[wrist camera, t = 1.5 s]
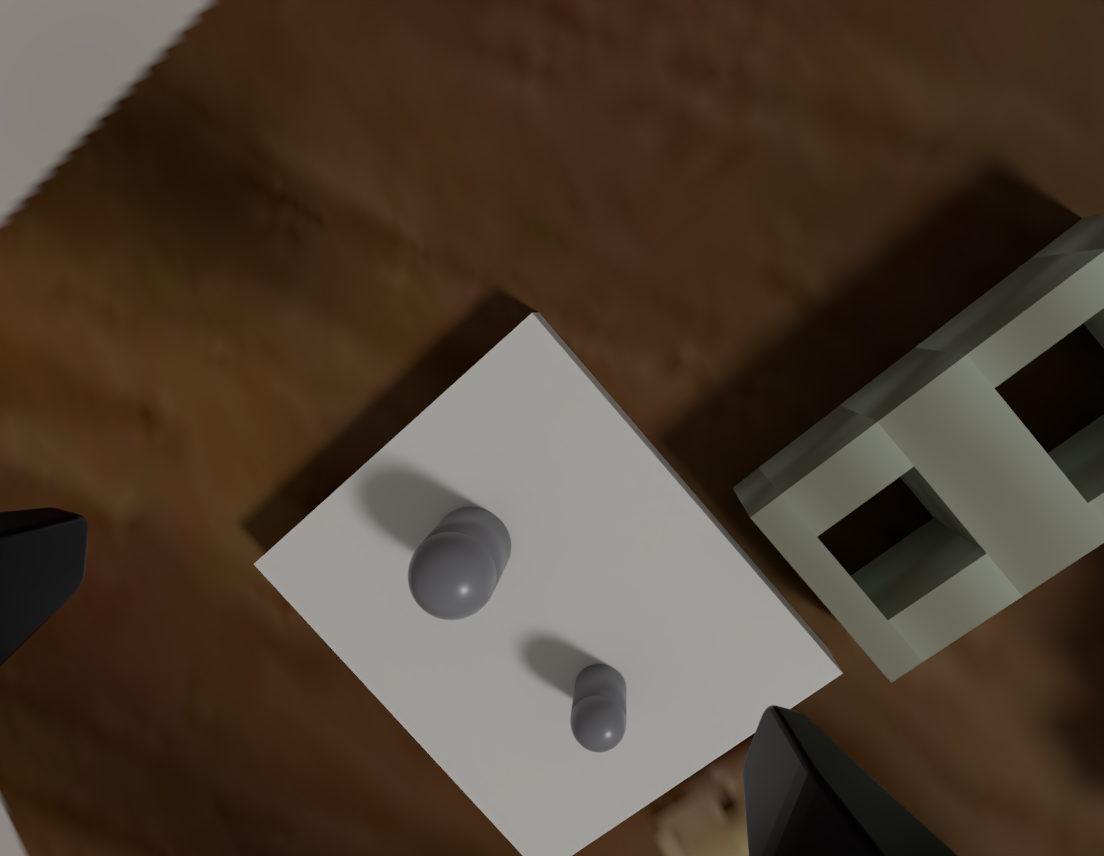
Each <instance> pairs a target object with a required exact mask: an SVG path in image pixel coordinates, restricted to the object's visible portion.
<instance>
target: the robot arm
mask: <svg viewBox="0 0 1104 856" xmlns="http://www.w3.org/2000/svg"><path fill="white" fill-rule="evenodd" d="M87 539H88V524H87V521H86V519H85V518H84V517H83V516H81V515H79V514H76V513H72V512H68V511H65V510H61V509H58V508H39V509H29V510H18V511H8V512H0V666H1V665H2V664H3V663H4V662H5V661H6V660H7V659H8V658H9V657H10V656H11V655H12V654H13V653H14V652H15V651H16V650H17V649H18V648H19V647H20V646H21V645H22V644H23V643H24V642H25V641H26V640H27V639H28V638H29V637H30V636H31V635H32V634H33V633H35V632H36V631H37V630H38V629H39V628H40V627H41V626H42V625H43V624H44V623H45V622H46V621H47V620H48V619H49V618H50V617H51V616H52V615H53V614H54V613H55V612H56V611H57V610H58V609H59V608H60V607H61V606H62V605H63V604H64V603H65V602H66V601H67V600H68V599H69V598H70V597H71V596H72V595H73V594H74V593H75V592H76V591H77V589H78V588H79V587H80V585H81V583H82V581H83V578H84V575H85V567H86V553H87ZM743 782H744V795H745V808H746V822H747V835H748V848H749V856H957V855H956V854H955V853H954V852H953V851H952V850H951V849H950V848H949V847H947V846H946V845H945V844H944V843H943V842H942V841H941V840H940V839H939V838H938V837H937V836H936V835H934V834H933V833H932V832H931V831H930V830H929V829H928V828H927V827H926V826H925V825H924V824H922V823H921V822H920V821H919V820H918V819H917V818H916V817H915V816H914V815H913V814H912V813H910V812H909V811H908V810H907V809H906V808H905V807H904V806H903V805H902V804H901V803H900V802H899V801H897V800H896V799H895V798H894V797H893V796H892V795H891V794H890V793H889V792H888V791H887V790H885V789H884V788H883V787H882V786H881V785H880V784H879V783H878V782H877V781H876V780H875V779H874V778H872V777H871V776H870V775H869V774H868V773H867V772H866V771H865V770H864V769H863V768H862V767H860V766H859V765H858V764H857V763H856V762H855V761H854V760H853V759H852V758H851V757H850V756H849V755H847V754H846V753H845V752H844V751H843V750H842V749H841V748H840V747H839V746H838V745H837V744H835V743H834V742H833V741H832V740H831V739H830V738H829V737H828V736H827V735H826V734H825V733H823V732H822V731H821V730H820V729H819V728H818V727H817V726H816V725H815V724H814V723H813V722H812V721H810V720H809V719H808V718H807V717H806V716H805V715H804V714H802V713H800V712H798V711H794V710H791V709H787V708H783V707H780V706H775V705H771V706H769V707H767V708H766V710H765V711H764V712H763V715H762V717H761V719H760V722H759V725H758V727H757V730H756V732H755V735H754V737H753V740H752V743H751V745H750V748H749V750H748V753H747V756H746V759H745V763H744V770H743Z"/></svg>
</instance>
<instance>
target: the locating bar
mask: <svg viewBox="0 0 1104 856" xmlns="http://www.w3.org/2000/svg"><path fill="white" fill-rule="evenodd" d="M1081 324H1084V325H1085V326H1086V327H1087V329H1088V330H1089V331H1090V332H1091V334H1092V335H1093V336H1094V337H1095V339H1096V340H1097V341H1098V342H1099V344H1100V345H1101V346H1102V347H1103V349H1104V214H1100V215H1095V216H1090V217H1085V218H1082V219H1081V220H1080V221H1078V222H1077V223H1076V224H1075V225H1073V226H1072V227H1071V228H1069V229H1068V230H1067V231H1065V232H1064V233H1063V234H1062V235H1060V236H1059V237H1058V238H1056V239H1055V240H1054V241H1052V242H1051V243H1050V244H1049V245H1047V246H1046V247H1045V248H1043V249H1042V250H1041V251H1039V252H1038V253H1037V254H1036V255H1034V256H1033V257H1032V258H1030V259H1029V260H1028V261H1026V262H1025V263H1024V264H1023V265H1021V266H1020V267H1019V268H1017V269H1016V270H1015V271H1013V272H1012V273H1011V274H1010V275H1008V276H1007V277H1006V278H1004V279H1003V280H1002V281H1001V282H999V283H998V284H997V285H995V286H994V287H993V288H991V289H990V290H989V291H988V292H986V293H985V294H984V295H982V296H981V297H980V298H978V299H977V300H976V301H975V302H973V303H972V304H971V305H969V306H968V307H967V308H965V309H964V310H963V311H962V312H960V313H959V314H958V315H956V316H955V317H954V318H952V319H951V320H950V321H949V322H947V323H946V324H945V325H943V326H942V327H941V328H939V329H938V330H937V331H936V332H934V333H933V334H932V335H930V336H929V337H928V338H926V339H925V340H924V341H923V342H921V343H920V344H919V345H917V346H916V347H915V348H913V349H912V350H911V351H910V352H908V353H907V354H906V355H904V356H903V357H902V358H900V359H899V360H898V361H897V362H895V363H894V364H893V365H891V366H890V367H889V368H887V369H886V370H885V371H884V372H882V373H881V374H880V375H878V376H877V377H876V378H874V379H873V380H872V381H871V382H869V383H868V384H867V385H865V386H864V387H863V388H862V389H860V390H859V391H858V392H856V393H855V394H854V395H852V396H851V397H850V398H849V399H847V400H846V401H845V402H843V403H842V404H841V405H839V406H838V407H837V408H836V409H834V410H833V411H832V412H830V413H829V414H828V415H826V416H825V417H824V418H823V419H821V420H820V421H819V422H817V423H816V424H815V425H813V426H812V427H811V428H810V429H808V430H807V431H806V432H804V433H803V434H802V435H800V436H799V437H798V438H797V439H795V440H794V441H793V442H791V443H790V444H789V445H787V446H786V447H785V448H784V449H782V450H781V451H780V452H778V453H777V454H776V455H774V456H773V457H772V458H771V459H769V460H768V461H767V462H765V463H764V464H763V465H761V466H760V467H759V468H758V469H756V470H755V471H754V472H752V473H751V474H750V475H748V476H747V477H746V478H745V479H743V480H742V481H741V482H739V483H738V484H737V485H735V486H734V487H733V490H734V492H735V493H736V495H737V497H738V498H739V500H740V502H741V503H742V505H743V507H744V508H745V510H746V512H747V513H748V515H749V517H750V518H751V519H752V521H753V522H754V523H755V524H756V525H757V526H758V528H759V529H760V530H761V531H762V532H763V533H764V535H765V536H766V537H767V538H768V539H769V540H770V542H771V543H772V544H773V545H774V546H775V547H776V549H777V550H778V551H779V552H780V553H781V554H782V556H783V557H784V558H785V559H786V560H787V561H788V563H789V564H790V565H791V566H792V567H793V568H794V570H795V571H796V572H797V573H798V574H799V575H800V577H801V578H802V579H803V580H804V581H805V582H806V584H807V585H808V586H809V587H810V588H811V589H812V591H813V592H814V593H815V594H816V595H817V596H818V598H819V599H820V600H821V601H822V602H823V603H824V605H825V606H826V607H827V608H828V609H829V610H830V612H831V613H832V614H833V615H834V616H835V617H836V619H837V620H838V621H839V622H840V623H841V624H842V626H843V627H844V628H845V629H846V630H847V631H848V633H849V634H850V635H851V636H852V637H853V638H854V640H855V641H856V642H857V643H858V644H859V645H860V647H861V648H862V649H863V650H864V651H865V652H866V654H867V655H868V656H869V657H870V658H871V659H872V661H873V662H874V663H875V664H876V665H877V666H878V668H879V669H880V670H881V671H882V672H883V673H884V675H885V676H886V677H887V678H888V679H889V681H890V682H893V681H894V680H896V679H897V678H899V677H901V676H902V675H904V674H905V673H907V672H908V671H910V670H911V669H913V668H914V667H916V666H917V665H919V664H920V663H922V662H923V661H925V660H926V659H928V658H929V657H931V656H932V655H934V654H935V653H937V652H939V651H940V650H942V649H943V648H945V647H946V646H948V645H949V644H951V643H952V642H954V641H955V640H957V639H958V638H960V637H961V636H963V635H964V634H966V633H967V632H969V631H970V630H972V629H974V628H975V627H977V626H978V625H980V624H981V623H983V622H984V621H986V620H987V619H989V618H990V617H992V616H993V615H995V614H996V613H998V612H999V611H1001V610H1002V609H1004V608H1005V607H1007V606H1008V605H1010V604H1012V603H1013V602H1015V601H1016V600H1018V599H1019V598H1021V597H1022V596H1024V595H1025V594H1027V593H1028V592H1030V591H1031V590H1033V589H1034V588H1036V587H1037V586H1039V585H1040V584H1042V583H1043V582H1045V581H1047V580H1048V579H1050V578H1051V577H1053V576H1054V575H1056V574H1057V573H1059V572H1060V571H1062V570H1063V569H1065V568H1066V567H1068V566H1069V565H1071V564H1072V563H1074V562H1075V561H1077V560H1078V559H1080V558H1081V557H1083V556H1085V555H1086V554H1088V553H1089V552H1091V551H1092V550H1094V549H1095V548H1097V547H1098V546H1100V545H1101V544H1103V543H1104V414H1103V415H1102V416H1100V417H1099V418H1097V419H1096V420H1094V421H1093V422H1092V423H1090V424H1089V425H1087V426H1086V427H1084V428H1083V429H1082V430H1080V431H1079V432H1077V433H1076V434H1074V435H1073V436H1072V437H1070V438H1069V439H1067V440H1066V441H1064V442H1063V443H1062V444H1060V445H1059V446H1057V447H1056V448H1054V449H1053V450H1052V451H1050V452H1049V453H1047V452H1046V451H1045V450H1044V449H1043V447H1042V446H1041V445H1040V444H1039V443H1038V441H1037V440H1036V439H1035V438H1034V436H1033V435H1032V434H1031V433H1030V431H1029V430H1028V429H1027V428H1026V427H1025V425H1024V424H1023V423H1022V422H1021V420H1020V419H1019V418H1018V417H1017V416H1016V414H1015V413H1014V412H1013V411H1012V409H1011V408H1010V407H1009V406H1008V404H1007V403H1006V402H1005V401H1004V400H1003V398H1002V397H1001V396H1000V395H999V393H998V392H997V391H996V390H995V388H996V387H997V386H998V385H1000V384H1001V383H1002V382H1004V381H1005V380H1006V379H1008V378H1009V377H1011V376H1012V375H1013V374H1015V373H1016V372H1017V371H1019V370H1020V369H1021V368H1023V367H1024V366H1025V365H1027V364H1028V363H1030V362H1031V361H1032V360H1034V359H1035V358H1036V357H1038V356H1039V355H1040V354H1042V353H1043V352H1045V351H1046V350H1047V349H1049V348H1050V347H1051V346H1053V345H1054V344H1055V343H1057V342H1058V341H1060V340H1061V339H1062V338H1064V337H1065V336H1066V335H1068V334H1069V333H1070V332H1072V331H1073V330H1074V329H1076V328H1077V327H1079V326H1080V325H1081ZM899 477H900V478H901V479H902V480H903V481H904V483H905V484H906V485H907V486H908V487H909V489H910V490H911V491H912V492H913V493H914V495H915V496H916V497H917V498H918V499H919V501H920V502H921V503H922V504H923V505H924V507H925V508H926V509H927V510H928V511H929V513H930V514H931V515H932V516H933V517H934V518H932V519H931V520H929V521H928V522H927V523H925V524H924V525H922V526H921V527H919V528H918V529H917V530H915V531H914V532H912V533H911V534H910V535H908V536H907V537H905V538H904V539H902V540H901V541H900V542H898V543H897V544H895V545H894V546H893V547H891V548H890V549H888V550H887V551H885V552H884V553H883V554H881V555H880V556H878V557H877V558H875V559H874V560H873V561H871V562H870V563H868V564H867V565H866V566H864V567H863V568H861V569H860V570H858V571H857V572H856V573H854V574H853V575H851V576H850V575H849V574H848V573H847V571H846V570H845V569H844V568H843V567H842V566H841V564H840V563H839V562H838V561H837V560H836V558H835V557H834V556H833V555H832V554H831V553H830V551H829V550H828V549H827V548H826V547H825V546H824V544H823V543H822V542H821V541H820V540H819V538H818V536H819V535H820V534H822V533H823V532H825V531H826V530H827V529H829V528H830V527H831V526H833V525H834V524H836V523H837V522H838V521H840V520H841V519H842V518H844V517H845V516H847V515H848V514H849V513H851V512H852V511H853V510H855V509H856V508H858V507H859V506H860V505H862V504H863V503H864V502H866V501H867V500H869V499H870V498H871V497H873V496H874V495H875V494H877V493H878V492H880V491H881V490H882V489H884V488H885V487H886V486H888V485H889V484H891V483H892V482H893V481H895V480H896V479H897V478H899Z"/></svg>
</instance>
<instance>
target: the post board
mask: <svg viewBox="0 0 1104 856" xmlns="http://www.w3.org/2000/svg"><path fill="white" fill-rule="evenodd" d="M254 565H255V566H256V567H257V568H258V569H259V571H260V572H261V573H262V574H263V575H264V576H265V577H266V578H267V579H268V580H269V581H270V582H271V584H272V585H273V586H274V587H275V588H276V589H277V590H278V591H279V592H280V593H281V594H282V595H283V597H284V598H285V599H286V600H287V601H288V602H289V603H290V604H291V605H292V606H293V607H294V608H295V610H296V611H297V612H298V613H299V614H300V615H301V616H302V617H303V618H304V619H305V620H306V621H307V623H308V624H309V625H310V626H311V627H312V628H313V629H314V630H315V631H316V632H317V633H318V634H319V636H320V637H321V638H322V639H323V640H324V641H325V642H326V643H327V644H328V645H329V646H330V647H331V649H332V650H333V651H334V652H335V653H336V654H337V655H338V656H339V657H340V658H341V659H342V660H343V662H344V663H345V664H346V665H347V666H348V667H349V668H350V669H351V670H352V671H353V672H354V673H355V675H356V676H357V677H358V678H359V679H360V680H361V681H362V682H363V683H364V684H365V685H366V686H367V688H368V689H369V690H370V691H371V692H372V693H373V694H374V695H375V696H376V697H377V698H378V699H379V701H380V702H381V703H382V704H383V705H384V706H385V707H386V708H387V709H388V710H389V711H390V712H391V714H392V715H393V716H394V717H395V718H396V719H397V720H398V721H399V722H400V723H401V724H402V725H403V727H404V728H405V729H406V730H407V731H408V732H409V733H410V734H411V735H412V736H413V737H414V738H415V740H416V741H417V742H418V743H419V744H420V745H421V746H422V747H423V748H424V749H425V750H426V751H427V753H428V754H429V755H430V756H431V757H432V758H433V759H434V760H435V761H436V762H437V763H438V764H439V766H440V767H441V768H442V769H443V770H444V771H445V772H446V773H447V774H448V775H449V776H450V777H451V779H452V780H453V781H454V782H455V783H456V784H457V785H458V786H459V787H460V788H461V789H462V790H463V792H464V793H465V794H466V795H467V796H468V797H469V798H470V799H471V800H472V801H473V802H474V803H475V805H476V806H477V807H478V808H479V809H480V810H481V811H482V812H483V813H484V814H485V815H486V816H487V818H488V819H489V820H490V821H491V822H492V823H493V824H494V825H495V826H496V827H497V828H498V829H499V831H500V832H501V833H502V834H503V835H504V836H505V837H506V838H507V839H508V840H509V841H510V842H511V844H512V845H513V846H514V847H515V848H516V849H517V850H518V851H519V852H520V853H521V854H522V855H523V856H572V855H573V854H575V853H576V852H578V851H579V850H581V849H582V848H584V847H585V846H587V845H588V844H590V843H591V842H593V841H594V840H596V839H597V838H599V837H600V836H602V835H603V834H605V833H606V832H608V831H609V830H611V829H612V828H614V827H615V826H617V825H618V824H620V823H621V822H622V821H624V820H625V819H627V818H628V817H630V816H631V815H633V814H634V813H636V812H637V811H639V810H640V809H642V808H643V807H645V806H646V805H648V804H649V803H651V802H652V801H654V800H655V799H657V798H658V797H660V796H661V795H663V794H664V793H666V792H667V791H669V790H670V789H672V788H673V787H675V786H676V785H678V784H679V783H680V782H682V781H683V780H685V779H686V778H688V777H689V776H691V775H692V774H694V773H695V772H697V771H698V770H700V769H701V768H703V767H704V766H706V765H707V764H709V763H710V762H712V761H713V760H715V759H716V758H718V757H719V756H721V755H722V754H724V753H725V752H727V751H728V750H730V749H731V748H733V747H734V746H736V745H737V744H739V743H740V742H741V741H743V740H744V739H746V738H747V737H749V736H750V735H752V734H753V733H755V732H756V730H757V727H758V725H759V722H760V719H761V717H762V715H763V712H764V711H765V710H766V708H767V707H769V706H771V705H775V706H780V707H783V708H787V709H791V708H792V707H794V706H795V705H797V704H798V703H799V702H801V701H802V700H804V699H805V698H807V697H808V696H810V695H811V694H813V693H814V692H816V691H817V690H819V689H820V688H822V687H823V686H825V685H826V684H828V683H829V682H831V681H832V680H834V679H835V678H837V677H838V676H840V675H841V674H843V673H842V671H841V670H840V668H839V666H838V665H837V663H836V661H835V660H834V658H833V656H832V655H831V653H830V651H829V650H828V648H827V647H826V646H825V644H824V643H823V642H822V641H821V640H820V639H819V637H818V636H817V635H816V634H815V633H814V632H813V631H812V629H811V628H810V627H809V626H808V625H807V624H806V622H805V621H804V620H803V619H802V618H801V617H800V615H799V614H798V613H797V612H796V611H795V610H794V608H793V607H792V606H791V605H790V604H789V603H788V601H787V600H786V599H785V598H784V597H783V596H782V594H781V593H780V592H779V591H778V590H777V589H776V588H775V586H774V585H773V584H772V583H771V582H770V581H769V579H768V578H767V577H766V576H765V575H764V574H763V572H762V571H761V570H760V569H759V568H758V567H757V565H756V564H755V563H754V562H753V561H752V560H751V558H750V557H749V556H748V555H747V554H746V553H745V551H744V550H743V549H742V548H741V547H740V546H739V545H738V543H737V542H736V541H735V540H734V539H733V538H732V536H731V535H730V534H729V533H728V532H727V531H726V529H725V528H724V527H723V526H722V525H721V524H720V522H719V521H718V520H717V519H716V518H715V517H714V515H713V514H712V513H711V512H710V511H709V510H708V508H707V507H706V506H705V505H704V504H703V503H702V502H701V500H700V499H699V498H698V497H697V496H696V495H695V493H694V492H693V491H692V490H691V489H690V488H689V486H688V485H687V484H686V483H685V482H684V481H683V479H682V478H681V477H680V476H679V475H678V474H677V472H676V471H675V470H674V469H673V468H672V467H671V465H670V464H669V463H668V462H667V461H666V460H665V459H664V457H663V456H662V455H661V454H660V453H659V452H658V450H657V449H656V448H655V447H654V446H653V445H652V443H651V442H650V441H649V440H648V439H647V438H646V436H645V435H644V434H643V433H642V432H641V431H640V429H639V428H638V427H637V426H636V425H635V424H634V423H633V421H632V420H631V419H630V418H629V417H628V416H627V414H626V413H625V412H624V411H623V410H622V409H621V407H620V406H619V405H618V404H617V403H616V402H615V400H614V399H613V398H612V397H611V396H610V395H609V393H608V392H607V391H606V390H605V389H604V388H603V386H602V385H601V384H600V383H599V382H598V381H597V380H596V378H595V377H594V376H593V375H592V374H591V373H590V371H589V370H588V369H587V368H586V367H585V366H584V364H583V363H582V362H581V361H580V360H579V359H578V357H577V356H576V355H575V354H574V353H573V352H572V350H571V349H570V348H569V347H568V346H567V345H566V343H565V342H564V341H563V340H562V339H561V338H560V337H559V335H558V334H557V333H556V332H555V331H554V330H553V328H552V327H551V326H550V325H549V324H548V323H547V321H546V320H545V319H544V318H543V317H542V316H541V314H540V313H531V314H530V315H529V316H528V317H527V318H526V319H525V320H523V321H522V322H521V323H520V324H519V325H518V326H517V327H516V328H515V329H513V330H512V331H511V332H510V333H509V334H508V335H507V336H506V337H505V338H504V339H502V340H501V341H500V342H499V343H498V344H497V345H496V346H495V347H494V348H492V349H491V350H490V351H489V352H488V353H487V354H486V355H485V356H484V357H482V358H481V359H480V360H479V361H478V362H477V363H476V364H475V365H474V366H473V367H471V368H470V369H469V370H468V371H467V372H466V373H465V374H464V375H463V376H461V377H460V378H459V379H458V380H457V381H456V382H455V383H454V384H453V385H451V386H450V387H449V388H448V389H447V390H446V391H445V392H444V393H443V394H442V395H440V396H439V397H438V398H437V399H436V400H435V401H434V402H433V403H432V404H430V405H429V406H428V407H427V408H426V409H425V410H424V411H423V412H422V413H420V414H419V415H418V416H417V417H416V418H415V419H414V420H413V421H412V422H411V423H409V424H408V425H407V426H406V427H405V428H404V429H403V430H402V431H401V432H399V433H398V434H397V435H396V436H395V437H394V438H393V439H392V440H391V441H389V442H388V443H387V444H386V445H385V446H384V447H383V448H382V449H381V450H380V451H378V452H377V453H376V454H375V455H374V456H373V457H372V458H371V459H370V460H368V461H367V462H366V463H365V464H364V465H363V466H362V467H361V468H360V469H359V470H357V471H356V472H355V473H354V474H353V475H352V476H351V477H350V478H349V479H347V480H346V481H345V482H344V483H343V484H342V485H341V486H340V487H339V488H337V489H336V490H335V491H334V492H333V493H332V494H331V495H330V496H329V497H328V498H326V499H325V500H324V501H323V502H322V503H321V504H320V505H319V506H318V507H316V508H315V509H314V510H313V511H312V512H311V513H310V514H309V515H308V516H306V517H305V518H304V519H303V520H302V521H301V522H300V523H299V524H298V525H297V526H295V527H294V528H293V529H292V530H291V531H290V532H289V533H288V534H287V535H285V536H284V537H283V538H282V539H281V540H280V541H279V542H278V543H277V544H275V545H274V546H273V547H272V548H271V549H270V550H269V551H268V552H267V553H266V554H264V555H263V556H262V557H261V558H260V559H259V560H258V561H257V562H256V563H254Z"/></svg>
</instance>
